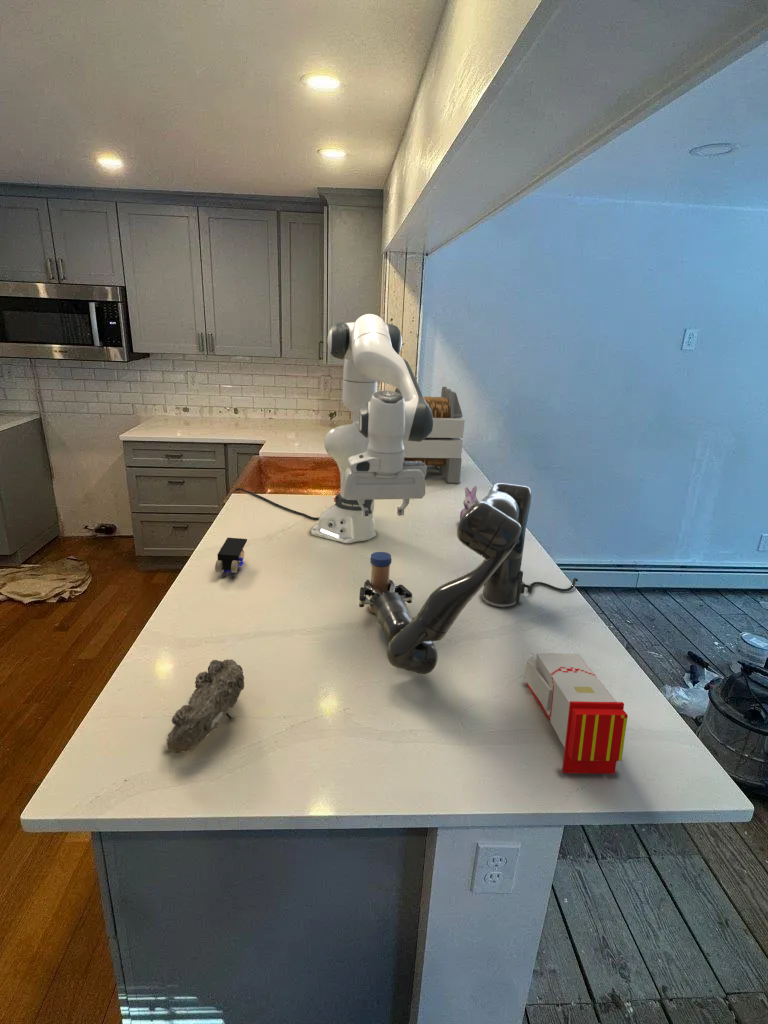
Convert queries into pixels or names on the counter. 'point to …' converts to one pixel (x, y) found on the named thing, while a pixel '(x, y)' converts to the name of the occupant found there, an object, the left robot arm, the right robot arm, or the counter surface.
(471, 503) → the figurine
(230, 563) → the black wheeled block
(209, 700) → the fossil
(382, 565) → the lid
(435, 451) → the transformer
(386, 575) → the jar
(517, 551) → the right robot arm
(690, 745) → the counter surface
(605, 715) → the toy
